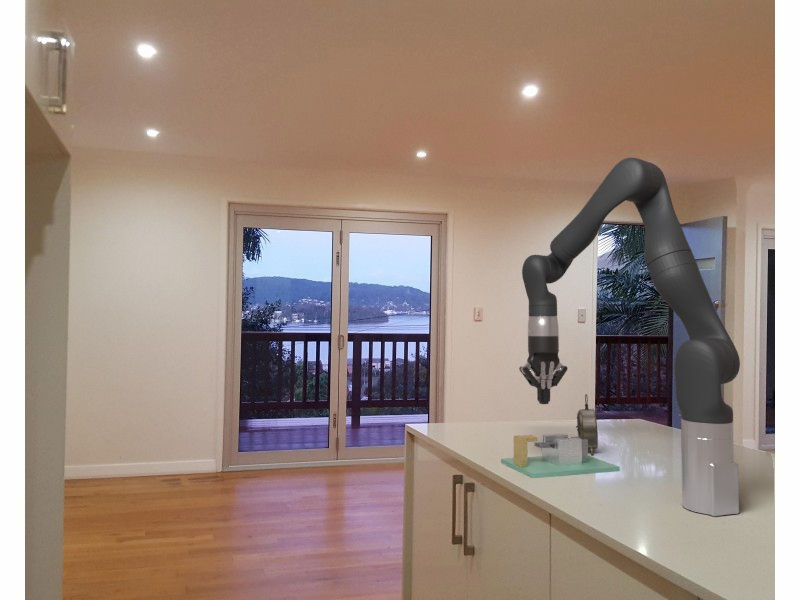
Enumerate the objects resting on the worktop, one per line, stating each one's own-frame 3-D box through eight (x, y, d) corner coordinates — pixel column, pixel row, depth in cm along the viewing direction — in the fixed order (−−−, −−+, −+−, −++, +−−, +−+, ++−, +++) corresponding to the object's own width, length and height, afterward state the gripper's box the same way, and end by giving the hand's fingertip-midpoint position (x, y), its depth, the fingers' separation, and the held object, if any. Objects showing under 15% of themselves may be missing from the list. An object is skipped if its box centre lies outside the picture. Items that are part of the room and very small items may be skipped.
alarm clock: (599, 456, 167) (598, 396, 168) (578, 455, 168) (577, 395, 169) (594, 448, 178) (594, 391, 179) (575, 447, 179) (574, 391, 180)
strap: (584, 446, 156) (584, 442, 156) (541, 448, 153) (541, 444, 153) (577, 444, 159) (577, 440, 159) (534, 446, 156) (534, 442, 156)
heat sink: (592, 464, 154) (592, 438, 154) (558, 466, 151) (558, 440, 151) (573, 457, 162) (573, 432, 162) (541, 459, 159) (541, 434, 159)
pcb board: (619, 470, 152) (619, 466, 152) (532, 477, 145) (532, 473, 145) (581, 456, 167) (581, 453, 167) (501, 462, 160) (501, 458, 160)
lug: (538, 466, 152) (538, 437, 152) (521, 467, 150) (521, 438, 151) (530, 462, 156) (530, 434, 156) (513, 463, 154) (513, 435, 154)
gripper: (527, 334, 150) (527, 406, 149) (574, 334, 154) (575, 404, 153) (512, 334, 157) (513, 403, 157) (558, 334, 161) (558, 401, 161)
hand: (543, 403), depth 155 cm, fingers closed
